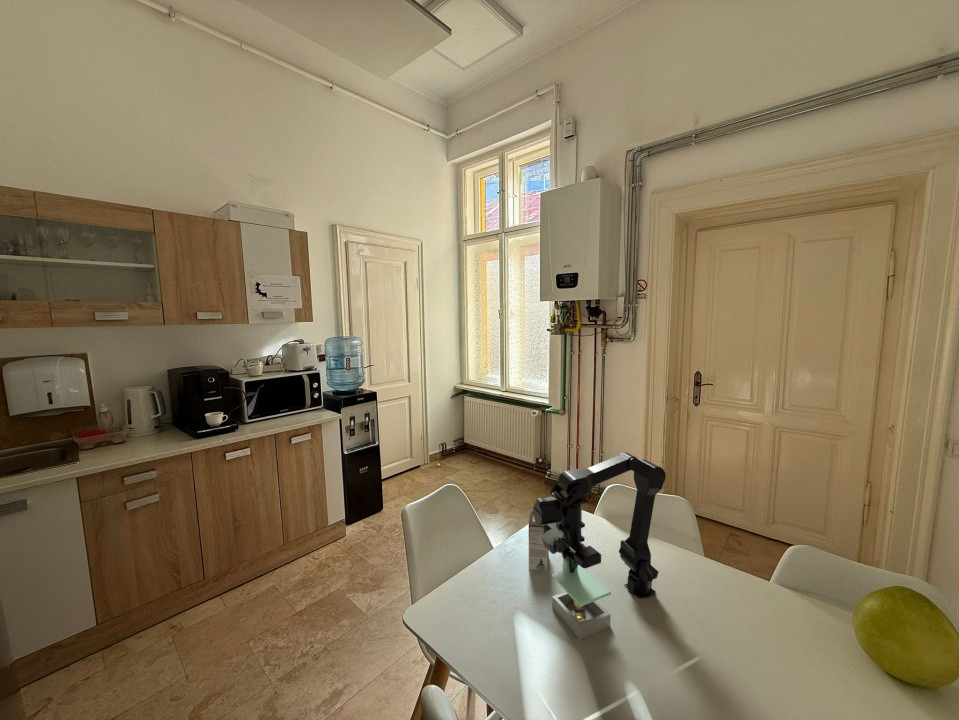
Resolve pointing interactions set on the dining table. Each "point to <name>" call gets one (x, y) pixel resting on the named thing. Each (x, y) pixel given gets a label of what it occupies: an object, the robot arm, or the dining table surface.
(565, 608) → the tub
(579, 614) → the ball
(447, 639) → the dining table surface
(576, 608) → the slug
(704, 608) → the dining table surface
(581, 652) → the dining table surface
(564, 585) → the lid
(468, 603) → the dining table surface
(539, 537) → the coffee box
